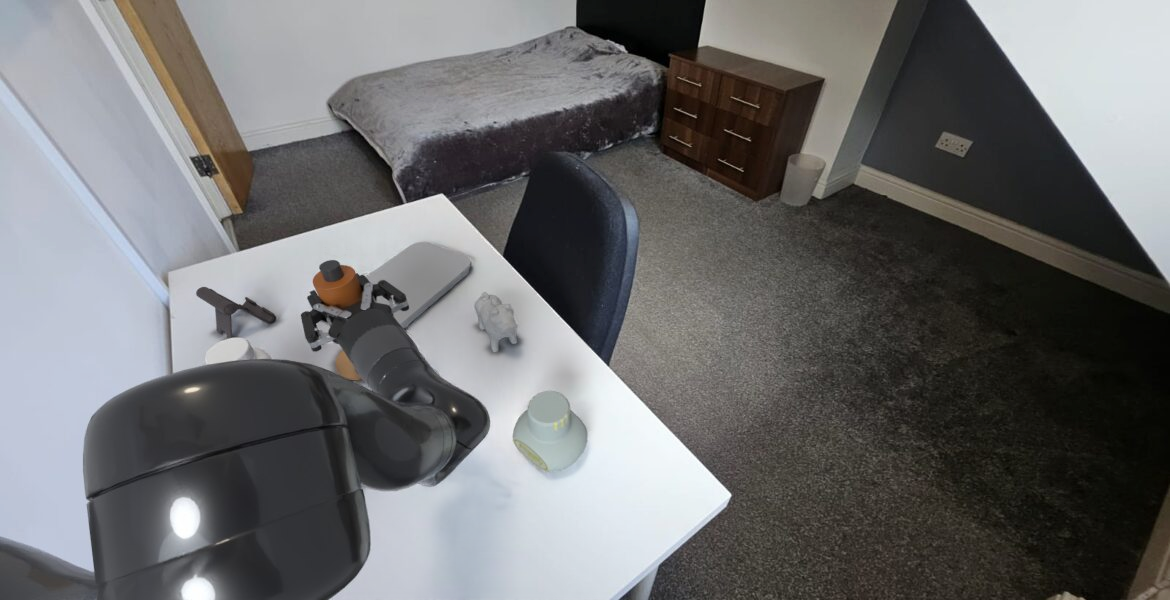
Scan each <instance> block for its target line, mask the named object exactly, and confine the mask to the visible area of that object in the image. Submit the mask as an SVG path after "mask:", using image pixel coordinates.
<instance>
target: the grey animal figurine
mask: <svg viewBox="0 0 1170 600" xmlns="http://www.w3.org/2000/svg"><path fill="white" fill-rule="evenodd" d="M474 310H475V313H476V316H477V321H478V328H479V329H480V330H485V329H486V332H487V335H488V336H489V338H490V347H491V351H492V352H494V353H496V352H498V351H499V350H500V348H499V342H500V340H501V339H503V338H508V339H509V342H510V344H513V345H516V344H517V343H518V339H517V334H516V330H517V329H518V327H519V324H518V323H517V321H516V318H515V313H514V310H513V308H512V305H511V304H510V303H503V302H502V300H501V298H499V297H498V296H497V295H496V294H489V293H488V292H486V291H483V292H481V296H479V298H477V299H476V300H475V301H474Z"/></svg>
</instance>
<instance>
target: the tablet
mask: <svg viewBox="0 0 1170 600" xmlns="http://www.w3.org/2000/svg"><path fill="white" fill-rule="evenodd" d="M471 266H472V261H471V258H470V257H469V256H468V255H466V254H463V253H460V252H458V251H455V250H453V249H450V248H447V247H444V246H440V245H438V244H435V243H432V242H429V241H418V242H414V243H412V244H410V245H409V246H407V247H406V248H404V249H403V250H402V251H400V252H399V253H397V254H396V255H395V256H393V257H392V258H390V259H388V260H387V261H386V262H384V263H383V264H381V265H380V266H379V267H377V268H376V269H374V270H373V271H372V272H370V273H368V275H365V277H366V278H367V279H368V280H369V281H370V283H372V284H378V282H379V281H381V280H386V281H387V282H388V283H390V284H391V285H393V286H394V287H395V288H397V289H398V290H400V291H401V292H403V293H404V294H405V295H406V298H407V302H408V305H409V310H407V311H401V310H398V311H397V312H395V313H393V317H394V318H395V319H396V320H397V321H398V323H399V324H400V325H401V326H402V328H403V329H404V330H405V328H407V327H408V326H409V325H410V324H411V323H413V321H415V320H416V319H417V318H418V317H420V316H421V315H422V314H423V313H424V312H425V311H427V310H428V309H429V307H431V306H432V305H433V304H434V303H436V302H437V301H438V300H440V299H441V297H442V296H444V295H445V294H446V293H447V292H448V291H450V289H452V288H453V287H454V286H455V285H457V284H458V283H459V282H460V281H461V280H462V279H463V278H465V277H466V276H467V275H468V274H469V271H470V268H471ZM377 303H381V304H387V305H390V302H389V301H388V300H386V299H385V298H384V297H383V296H378V297H377Z"/></svg>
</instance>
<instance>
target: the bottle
mask: <svg viewBox="0 0 1170 600" xmlns="http://www.w3.org/2000/svg"><path fill="white" fill-rule="evenodd" d="M318 269H319V271H318V272H317V273H316V274H315V275H314V277H313V278H312V286H313V287H314V290H315V291H316V293H317V294H318V296H319V298H320V299H321V300H322V302H323V304H324V305H326V306H328V307H329V306H334V307H336V308H338V309H342V308H344V307H348V306H351V305H353V304H355V303H356V302H359V301H362V292H363V291H362V288H361V286H360V283H359V280H358V278H357V275H356V270H355V268H353V267H352V266H350V265H346V264H341V262H339V261H338V260H336V259H329V260H325V261H323V262H322V263H321V264H319V266H318Z"/></svg>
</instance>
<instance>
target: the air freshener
mask: <svg viewBox="0 0 1170 600" xmlns="http://www.w3.org/2000/svg"><path fill="white" fill-rule="evenodd" d="M512 442H513V444H514V446H515V448H516V449H517V450H518V451H519V453H520V454H521V455H522V456H523V457H524V458H525V459H526V460H527V461H528V462H529V463H531V464H532V466H535V467H536V468H537V469H539V470H540V471H542V472H545V473H556V472H559V471H563V470H566V469H567V468H569V467H571V466H572V465H573V464H575V463H576V462H577V461H578V460H579V459H580V458H581V456H582V455H583V453H584V452H585V449H586V448H587V443H588V429H587V425H586V424H585V423H584V421H583V420H582V419H581V417H579V416H578V415H577V414H576V413H575V412H574V411H573V410H572V409H571V405H570V401H569V399H568V398H567V397H566V396H565V395H564V394H562V393H560V392H558V391H555V390H545V391H542V392H539V393H537V394H536V395H534V396H533V397H532V399H530V400H529V401H528V405H527V409H526V410H525V411H523V413H522V414H520V416H519V417H518V419H517V420H516V422H515V424H514V427H513V430H512Z"/></svg>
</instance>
